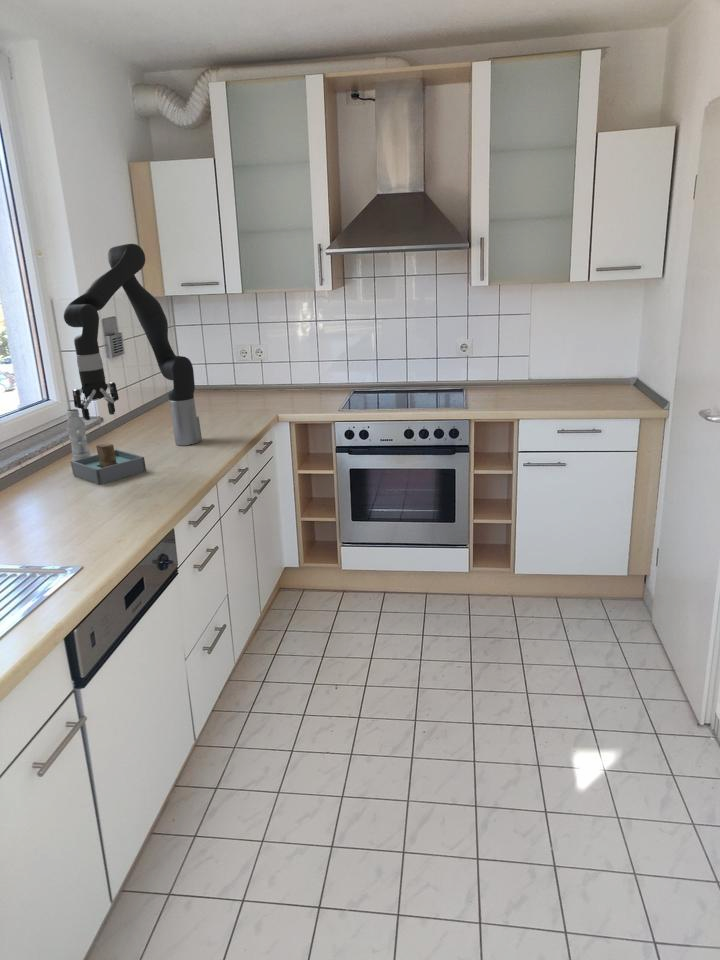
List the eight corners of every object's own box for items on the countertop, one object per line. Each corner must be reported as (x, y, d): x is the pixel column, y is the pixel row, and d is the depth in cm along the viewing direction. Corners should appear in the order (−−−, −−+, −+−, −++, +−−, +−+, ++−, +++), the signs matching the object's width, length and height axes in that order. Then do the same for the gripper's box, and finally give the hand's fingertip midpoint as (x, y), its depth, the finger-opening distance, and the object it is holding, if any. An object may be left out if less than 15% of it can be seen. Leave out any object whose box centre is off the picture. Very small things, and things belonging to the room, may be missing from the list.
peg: (112, 471, 241) (107, 442, 238) (118, 473, 238) (113, 444, 235) (101, 474, 238) (96, 445, 235) (107, 476, 236) (102, 447, 232)
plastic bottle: (72, 469, 246) (61, 413, 240) (74, 464, 252) (64, 409, 246) (92, 466, 247) (81, 411, 241) (93, 461, 254) (83, 407, 248)
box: (119, 463, 250) (116, 449, 248) (146, 471, 238) (143, 457, 237) (73, 475, 238) (70, 461, 237) (99, 484, 226) (96, 470, 225)
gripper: (105, 363, 234) (113, 411, 240) (64, 370, 225) (73, 420, 230) (116, 365, 229) (125, 413, 235) (75, 372, 220) (84, 423, 225)
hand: (99, 417), depth 232 cm, fingers open, 8 cm apart
